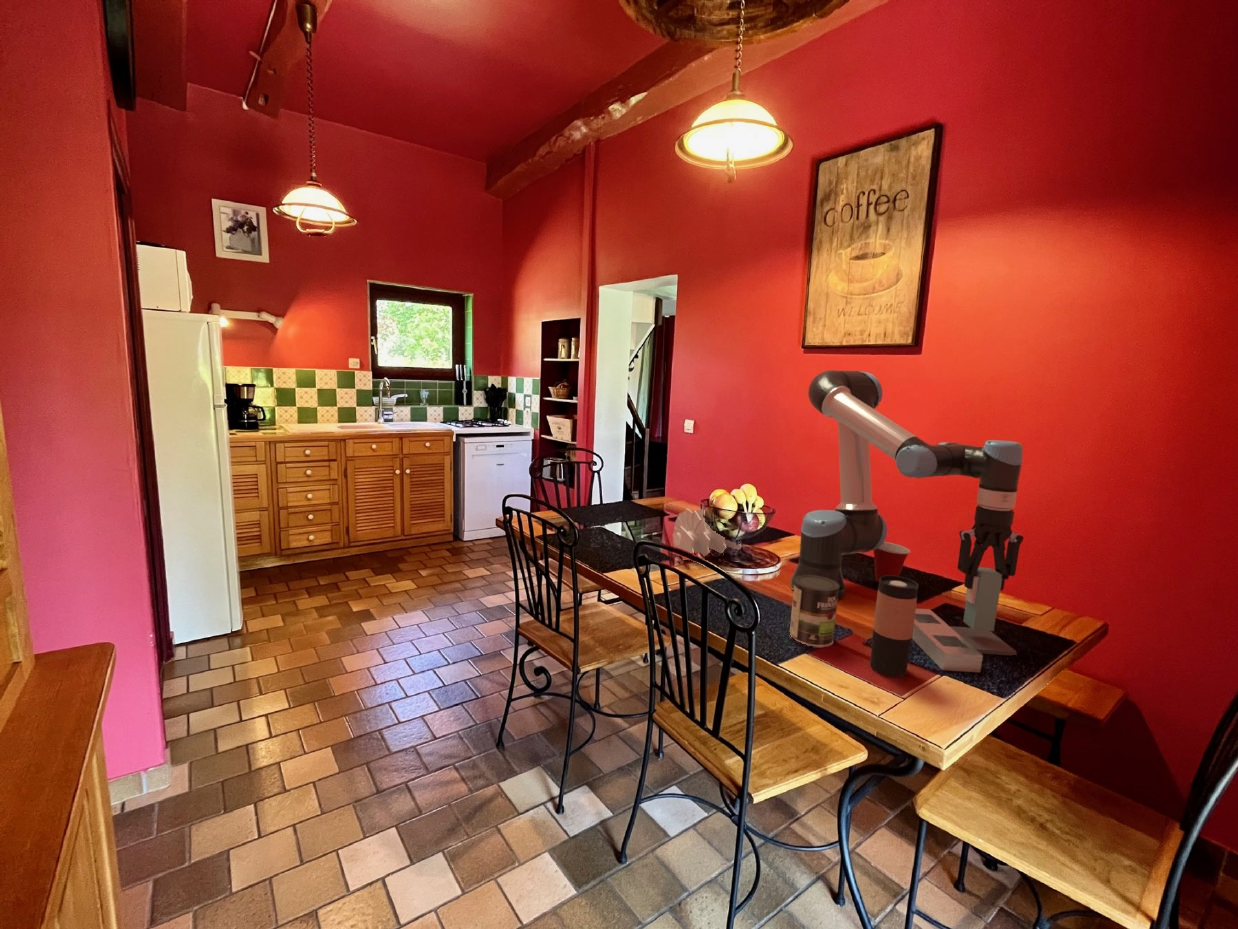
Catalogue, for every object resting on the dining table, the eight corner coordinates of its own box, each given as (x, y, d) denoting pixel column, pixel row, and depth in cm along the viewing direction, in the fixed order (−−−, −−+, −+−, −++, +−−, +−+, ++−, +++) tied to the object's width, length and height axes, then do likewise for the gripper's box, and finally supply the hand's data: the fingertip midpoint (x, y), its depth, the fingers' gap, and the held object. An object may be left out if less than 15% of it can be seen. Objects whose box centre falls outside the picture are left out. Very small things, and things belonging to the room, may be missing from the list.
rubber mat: (962, 652, 132) (963, 648, 132) (937, 629, 144) (938, 625, 144) (1016, 655, 132) (1016, 651, 132) (986, 632, 144) (986, 628, 143)
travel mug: (862, 660, 127) (872, 575, 124) (894, 660, 128) (905, 575, 124) (880, 678, 120) (891, 588, 116) (915, 678, 120) (926, 588, 117)
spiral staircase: (669, 569, 193) (730, 557, 203) (695, 562, 177) (759, 550, 188) (658, 516, 197) (718, 507, 207) (683, 505, 181) (746, 496, 192)
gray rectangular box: (973, 630, 135) (981, 573, 133) (963, 621, 139) (970, 567, 137) (993, 631, 135) (1002, 574, 132) (982, 622, 139) (990, 568, 137)
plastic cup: (912, 590, 170) (917, 552, 168) (876, 588, 170) (881, 550, 168) (896, 577, 181) (900, 541, 179) (862, 575, 181) (866, 539, 179)
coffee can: (843, 643, 135) (849, 586, 133) (811, 651, 130) (817, 593, 128) (810, 625, 144) (815, 572, 142) (779, 632, 139) (784, 577, 137)
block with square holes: (942, 670, 124) (944, 653, 123) (896, 622, 148) (898, 607, 147) (980, 672, 124) (982, 655, 123) (927, 624, 147) (929, 609, 147)
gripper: (964, 509, 129) (951, 606, 133) (1045, 512, 128) (1029, 610, 132) (948, 501, 137) (936, 593, 140) (1024, 505, 136) (1010, 597, 139)
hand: (981, 601), depth 136 cm, fingers closed on gray rectangular box, 5 cm apart
